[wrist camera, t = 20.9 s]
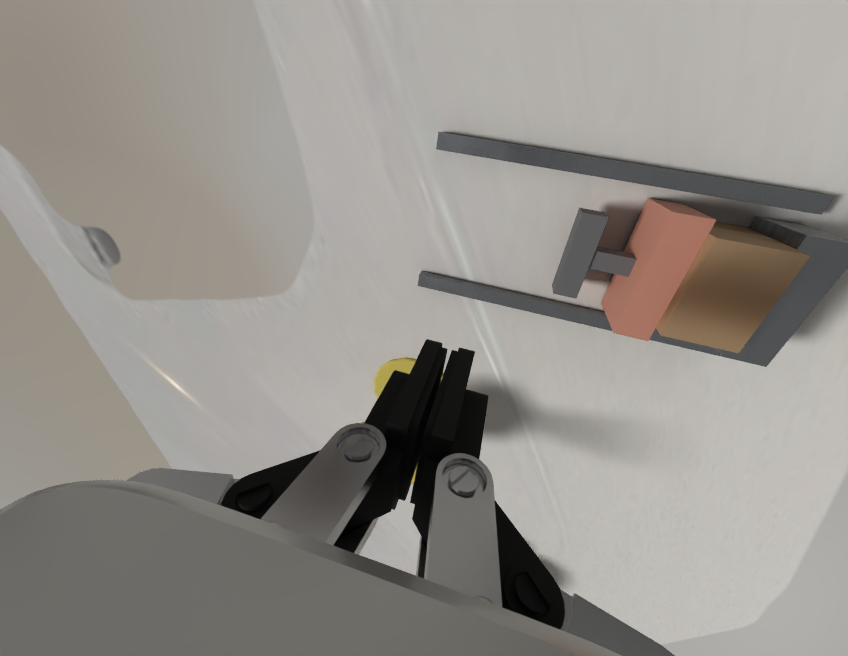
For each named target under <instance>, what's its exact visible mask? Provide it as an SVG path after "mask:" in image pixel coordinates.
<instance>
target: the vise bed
mask: <svg viewBox="0 0 848 656" xmlns="http://www.w3.org/2000/svg"><path fill="white" fill-rule="evenodd" d="M436 149H438V150H444V151H450V152H456V153H462V154H468V155H474V156H480V157H486V158H491V159H497V160H503V161H509V162H515V163H521V164H527V165H533V166H538V167H544V168H550V169H556V170H562V171H568V172H574V173H580V174H585V175H591V176H597V177H603V178H609V179H615V180H621V181H627V182H632V183H638V184H644V185H650V186H656V187H662V188H668V189H674V190H680V191H685V192H691V193H697V194H703V195H709V196H715V197H721V198H727V199H732V200H738V201H744V202H750V203H756V204H762V205H768V206H774V207H779V208H785V209H791V210H797V211H803V212H809V213H815V214H822V213H823V212H824V210H825V209H826V207H827V206H828V205H829V203H830V202H831V200H832V199H833V197H834V196H831V195H826V194H821V193H814V192H808V191H802V190H796V189H790V188H784V187H777V186H771V185H765V184H759V183H753V182H747V181H740V180H734V179H728V178H722V177H716V176H710V175H703V174H697V173H691V172H685V171H679V170H673V169H666V168H660V167H654V166H648V165H642V164H636V163H629V162H623V161H617V160H611V159H605V158H599V157H592V156H586V155H580V154H574V153H568V152H562V151H555V150H549V149H543V148H537V147H531V146H525V145H518V144H512V143H506V142H500V141H494V140H488V139H481V138H475V137H469V136H463V135H457V134H451V133H444V132H439V133H438V140H437V148H436ZM750 229H752V230H754V231H757V232H759V233H761V234H763V235H766V236H768V237H770V238H772V239H775V240H777V241H779V242H781V243H784V244H786V245H788V246H790V247H793V248H795V249H797V250H799V251H802V252H804V253H806V254H808V255H811V256H810V258H809V259H808V260H807V262H806V263H805V264H804V266H803V267H802V268H801V270H800V271H799V273H798V274H797V275H796V277H795V278H794V279H793V281H792V282H791V283H790V285H789V286H788V287H787V289H786V290H785V291H784V293H783V294H782V295H781V297H780V298H779V299H778V301H777V302H776V304H775V305H774V306H773V308H772V309H771V310H770V312H769V313H768V314H767V316H766V317H765V318H764V320H763V321H762V322H761V324H760V325H759V326H758V328H757V329H756V331H755V332H754V333H753V335H752V336H751V337H750V339H749V340H748V341H747V343H746V344H745V345H744V347H743V348H742V349H741V351H740V352H739V353H735V352H730V351H726V350H722V349H717V348H713V347H708V346H704V345H700V344H695V343H691V342H687V341H682V340H678V339H674V338H669V337H665V336H661V335H660V334H659V332H658V330H657V329H656V328H655V330H654V332H653V334H652V336H651V337H650V339H649V340H653V341H658V342H662V343H666V344H670V345H675V346H679V347H683V348H688V349H692V350H696V351H701V352H705V353H709V354H713V355H718V356H722V357H726V358H731V359H735V360H739V361H744V362H748V363H752V364H757V365H761V366H765V367H767V365H768V364H769V363H770V362H771V360H772V359H773V358H774V357H775V356H776V354H777V353H778V352H779V351H780V349H781V348H782V347H783V346H784V344H785V343H786V342H787V341H788V340H789V338H790V337H791V336H792V335H793V333H794V332H795V331H796V330H797V328H798V327H799V326H800V325H801V324H802V322H803V321H804V320H805V319H806V317H807V316H808V315H809V314H810V312H811V311H812V310H813V309H814V308H815V306H816V305H817V304H818V303H819V301H820V300H821V299H822V298H823V296H824V295H825V294H826V293H827V292H828V290H829V289H830V288H831V287H832V285H833V284H834V283H835V282H836V280H837V279H838V278H839V277H840V276H841V274H842V273H843V272H844V271H845V269H846V268H847V267H848V240H846V239H843V238H840V237H838V236H835V235H832V234H829V233H826V232H823V231H820V230H817V229H814V228H811V227H808V226H805V225H802V224H797V223H791V222H785V221H780V220H774V219H768V218H762V217H757V216H756V218H755V220H754V221H753V223H752V224H751V226H750ZM418 286H421V287H426V288H430V289H434V290H439V291H443V292H447V293H451V294H456V295H460V296H464V297H469V298H473V299H477V300H482V301H486V302H490V303H494V304H499V305H503V306H507V307H512V308H516V309H520V310H524V311H529V312H533V313H537V314H542V315H546V316H550V317H555V318H559V319H563V320H567V321H572V322H576V323H580V324H585V325H589V326H593V327H597V328H602V329H606V330H610V331H613V330H612V328H611V326H610V323H609V321H608V319H607V316H606V314H605V312H602V311H598V310H594V309H589V308H585V307H580V306H576V305H571V304H567V303H563V302H558V301H554V300H549V299H545V298H540V297H536V296H532V295H527V294H523V293H518V292H514V291H509V290H505V289H501V288H496V287H492V286H487V285H483V284H478V283H474V282H470V281H465V280H461V279H456V278H452V277H447V276H443V275H439V274H434V273H430V272H425V271H422V272H421V273H420V274H419V281H418Z"/></svg>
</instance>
